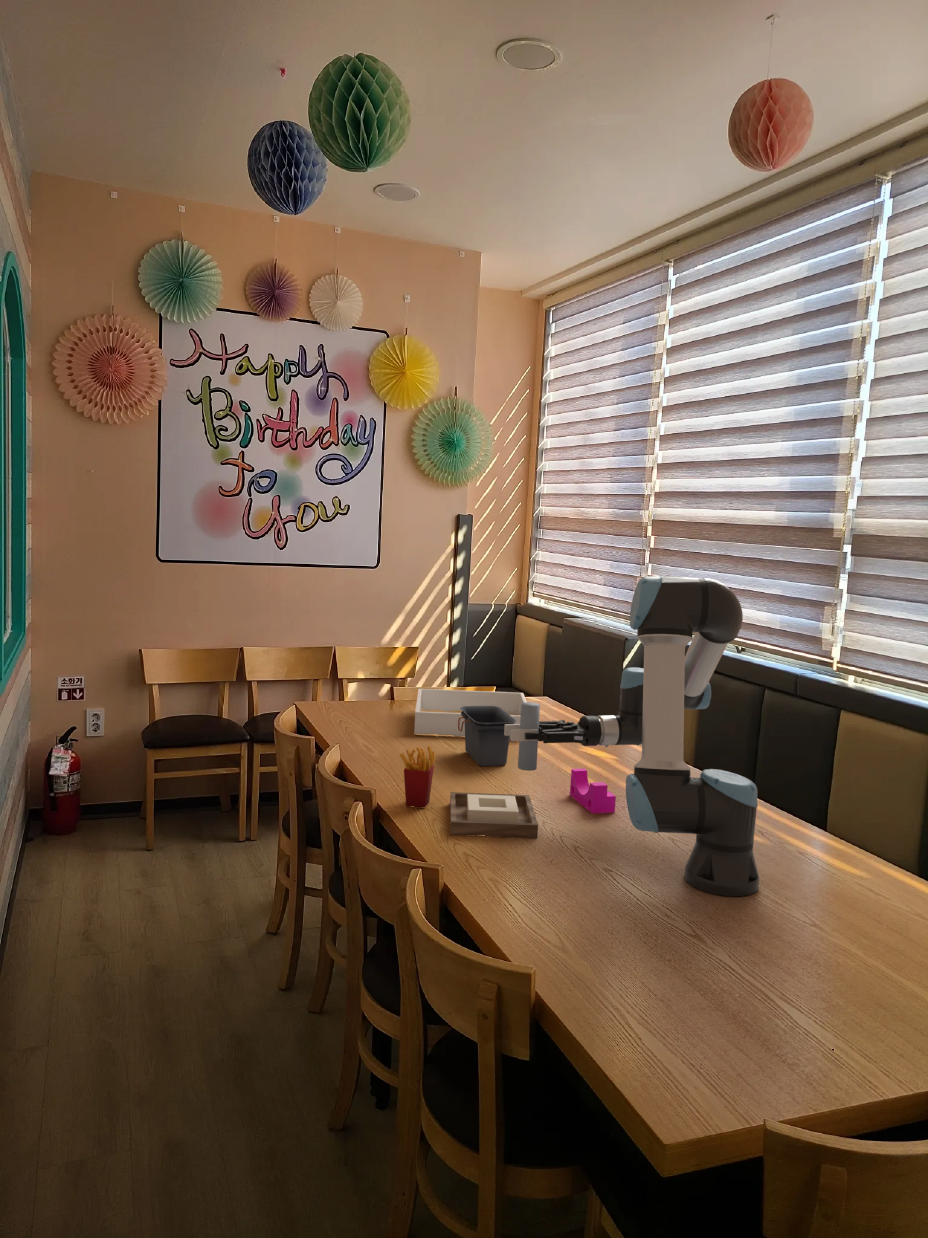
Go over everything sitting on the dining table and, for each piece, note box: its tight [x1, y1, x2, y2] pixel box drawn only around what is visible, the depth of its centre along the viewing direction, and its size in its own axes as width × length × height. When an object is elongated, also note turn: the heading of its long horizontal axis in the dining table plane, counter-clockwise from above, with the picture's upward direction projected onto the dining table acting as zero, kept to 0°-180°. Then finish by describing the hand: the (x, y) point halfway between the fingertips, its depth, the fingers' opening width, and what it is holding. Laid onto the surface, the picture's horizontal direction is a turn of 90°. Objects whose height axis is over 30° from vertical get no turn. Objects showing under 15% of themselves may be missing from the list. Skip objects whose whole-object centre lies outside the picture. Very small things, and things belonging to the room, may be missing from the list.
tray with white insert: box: [449, 791, 539, 839], centre depth 223 cm, size 22×20×3 cm
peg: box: [517, 701, 541, 772], centre depth 223 cm, size 5×5×16 cm
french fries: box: [399, 746, 436, 808], centre depth 233 cm, size 9×8×15 cm
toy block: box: [569, 768, 616, 814], centre depth 240 cm, size 15×6×8 cm, turn 16°
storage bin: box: [458, 706, 516, 767], centre depth 277 cm, size 21×16×14 cm
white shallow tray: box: [413, 688, 528, 740], centre depth 322 cm, size 39×39×8 cm
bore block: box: [467, 794, 519, 823], centre depth 223 cm, size 12×12×4 cm
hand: (508, 732), depth 221 cm, fingers closed on peg, 4 cm apart
